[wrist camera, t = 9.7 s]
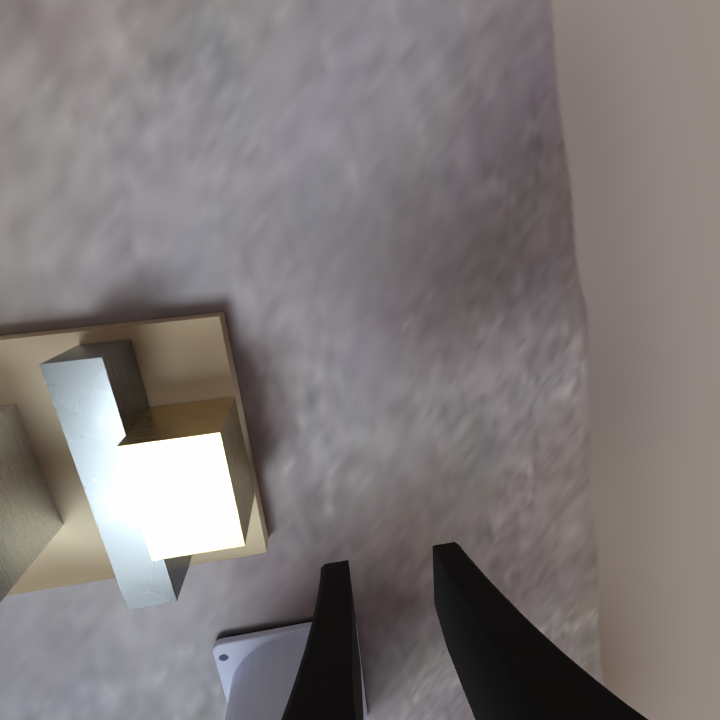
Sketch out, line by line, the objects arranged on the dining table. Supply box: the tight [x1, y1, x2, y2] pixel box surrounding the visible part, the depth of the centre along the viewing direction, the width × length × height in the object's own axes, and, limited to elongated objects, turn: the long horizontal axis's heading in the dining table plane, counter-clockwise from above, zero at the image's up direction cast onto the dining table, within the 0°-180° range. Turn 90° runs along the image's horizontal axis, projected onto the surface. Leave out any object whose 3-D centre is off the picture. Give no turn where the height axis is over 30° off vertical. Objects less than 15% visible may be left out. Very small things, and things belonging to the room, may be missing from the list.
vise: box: [0, 312, 268, 596], centre depth 17 cm, size 12×17×4 cm
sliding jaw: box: [39, 339, 255, 610], centre depth 16 cm, size 11×6×3 cm, turn 5°
